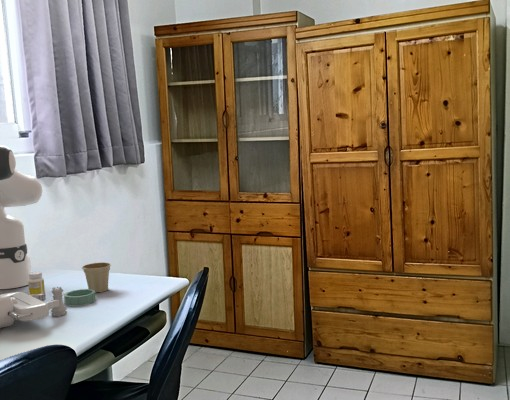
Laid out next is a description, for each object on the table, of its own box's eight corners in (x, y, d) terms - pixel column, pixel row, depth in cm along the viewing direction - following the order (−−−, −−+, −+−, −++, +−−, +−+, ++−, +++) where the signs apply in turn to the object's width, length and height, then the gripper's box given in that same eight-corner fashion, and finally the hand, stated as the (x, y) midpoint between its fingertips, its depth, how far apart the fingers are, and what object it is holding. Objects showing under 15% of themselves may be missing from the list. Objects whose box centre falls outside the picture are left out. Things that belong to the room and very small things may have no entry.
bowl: (58, 303, 184) (57, 295, 183) (81, 296, 191) (81, 287, 191) (78, 307, 179) (77, 298, 178) (101, 299, 186) (100, 290, 186)
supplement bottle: (38, 295, 195) (36, 270, 194) (48, 297, 193) (46, 271, 192) (26, 299, 191) (24, 273, 190) (36, 300, 189) (34, 275, 188)
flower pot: (105, 294, 192) (103, 268, 191) (78, 294, 194) (76, 268, 193) (117, 287, 201) (115, 262, 200) (92, 287, 203) (90, 262, 202)
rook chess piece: (48, 314, 172) (46, 288, 171) (62, 311, 175) (60, 285, 175) (55, 317, 169) (53, 290, 168) (70, 314, 172) (67, 287, 171)
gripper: (15, 306, 153) (65, 295, 163) (-11, 293, 169) (36, 283, 178) (17, 330, 154) (67, 317, 163) (-9, 314, 169) (38, 303, 178)
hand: (51, 299), depth 171 cm, fingers open, 8 cm apart
